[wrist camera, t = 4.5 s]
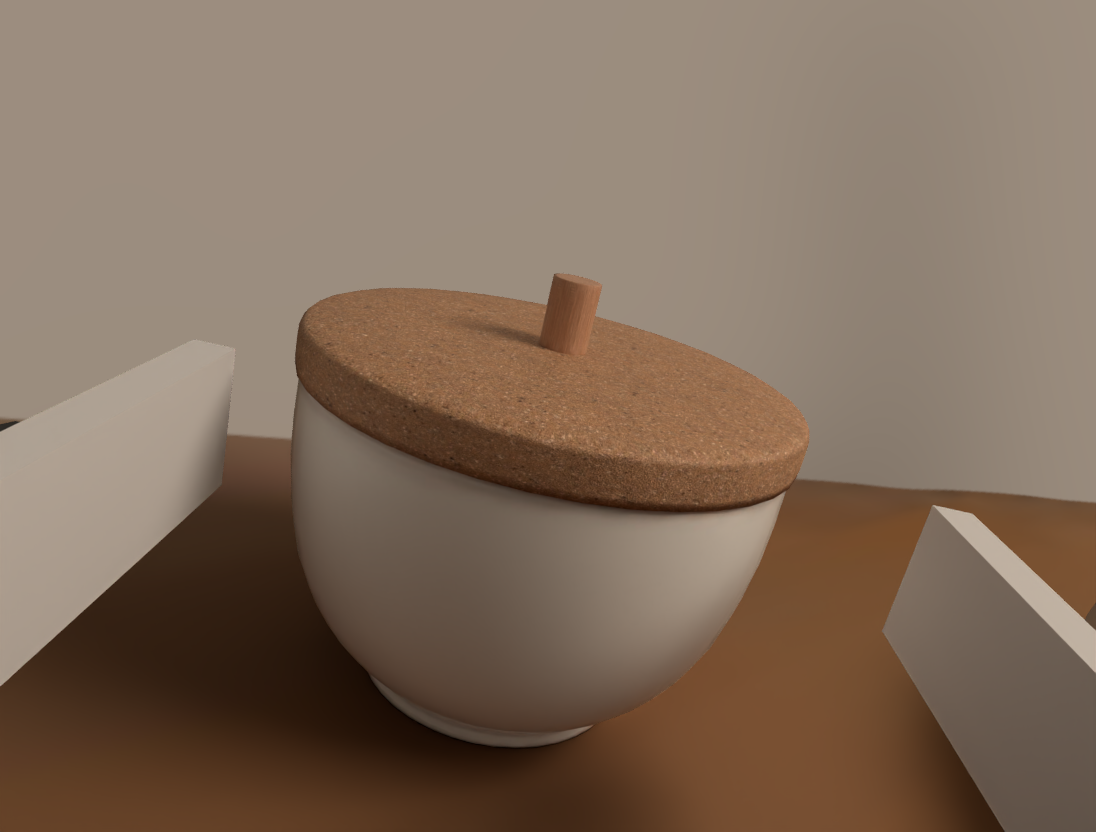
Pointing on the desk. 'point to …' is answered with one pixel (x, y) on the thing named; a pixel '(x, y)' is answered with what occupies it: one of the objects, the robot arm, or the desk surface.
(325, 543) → the lidded jar
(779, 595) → the desk surface
